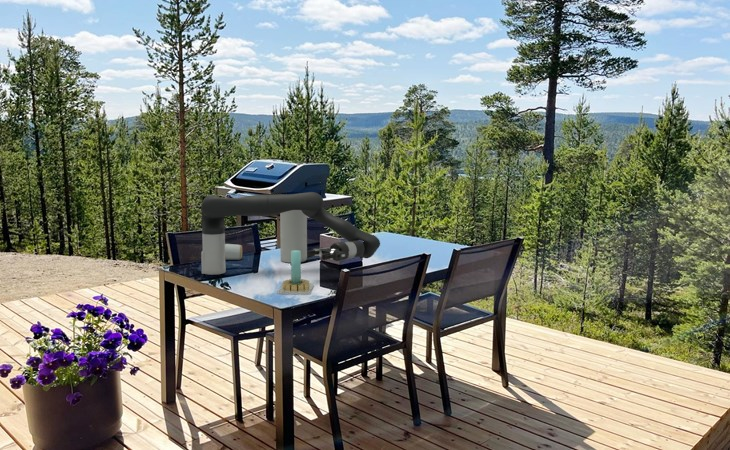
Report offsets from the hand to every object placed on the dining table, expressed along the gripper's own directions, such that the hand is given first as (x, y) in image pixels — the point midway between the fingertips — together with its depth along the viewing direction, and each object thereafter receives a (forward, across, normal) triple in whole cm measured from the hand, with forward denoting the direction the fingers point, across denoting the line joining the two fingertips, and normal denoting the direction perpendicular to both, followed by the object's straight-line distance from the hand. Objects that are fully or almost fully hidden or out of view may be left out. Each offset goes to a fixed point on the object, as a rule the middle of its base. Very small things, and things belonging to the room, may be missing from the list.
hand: (314, 255), depth 215 cm
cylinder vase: (-24, -40, +12) cm, 48 cm away
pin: (+10, +1, +11) cm, 15 cm away
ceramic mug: (-5, -63, +13) cm, 65 cm away
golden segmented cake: (+10, +1, +12) cm, 16 cm away
